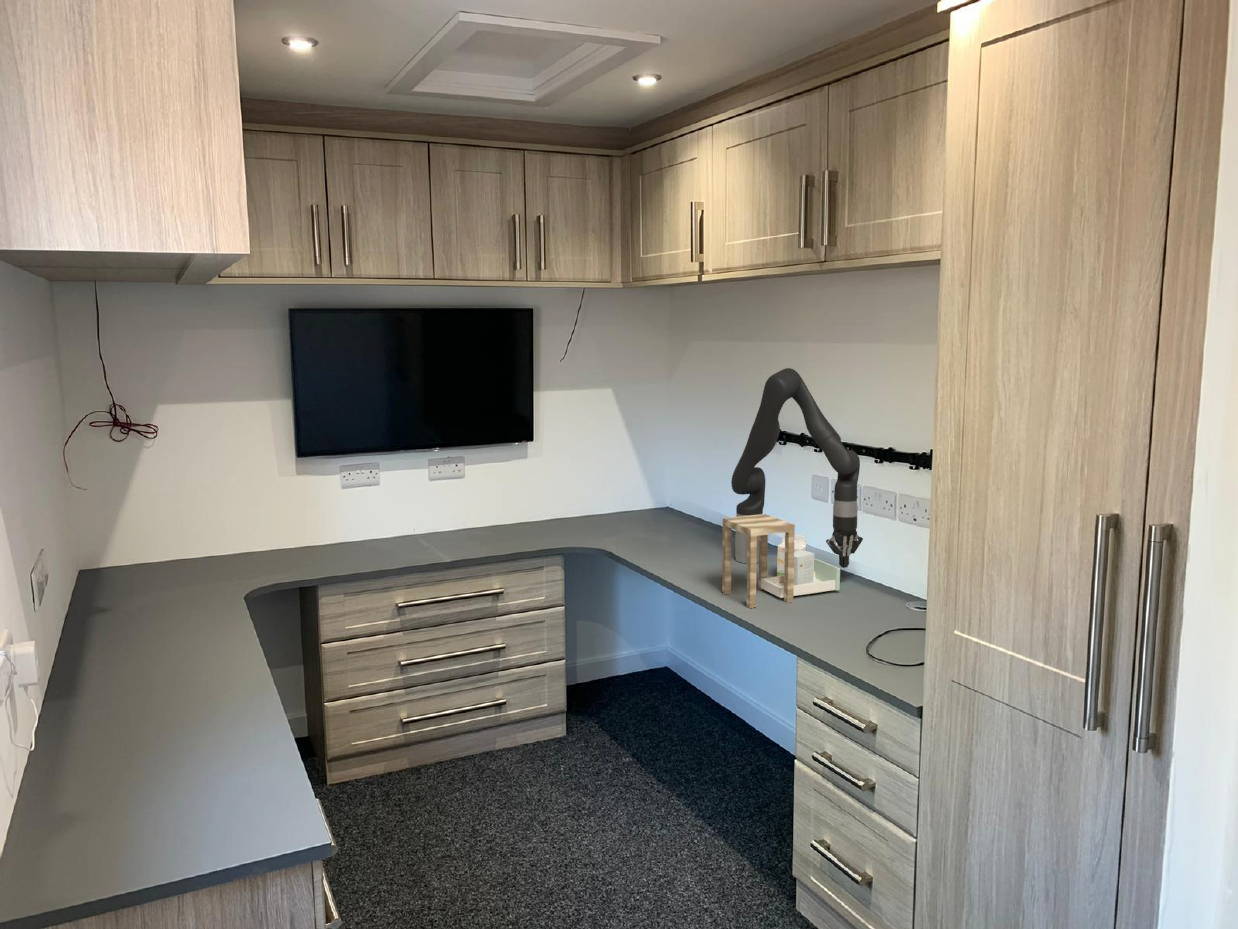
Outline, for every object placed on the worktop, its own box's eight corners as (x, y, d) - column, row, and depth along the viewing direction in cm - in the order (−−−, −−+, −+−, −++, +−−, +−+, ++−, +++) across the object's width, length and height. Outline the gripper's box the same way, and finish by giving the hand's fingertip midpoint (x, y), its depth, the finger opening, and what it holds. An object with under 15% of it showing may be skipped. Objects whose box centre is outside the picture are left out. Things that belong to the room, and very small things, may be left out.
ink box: (775, 580, 305) (776, 536, 302) (780, 576, 309) (781, 533, 307) (801, 583, 301) (802, 539, 298) (806, 579, 305) (807, 535, 303)
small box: (800, 581, 296) (800, 549, 294) (814, 585, 292) (814, 552, 290) (783, 586, 291) (783, 553, 289) (797, 590, 287) (797, 557, 285)
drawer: (759, 587, 294) (759, 565, 293) (815, 579, 302) (816, 558, 301) (781, 598, 282) (782, 576, 281) (839, 590, 290) (840, 568, 289)
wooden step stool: (722, 593, 291) (722, 518, 287) (763, 587, 297) (764, 513, 293) (750, 608, 276) (750, 529, 272) (793, 602, 281) (794, 524, 278)
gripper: (834, 517, 288) (833, 572, 291) (869, 514, 293) (868, 567, 296) (820, 513, 295) (819, 566, 298) (855, 509, 300) (854, 562, 303)
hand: (843, 567), depth 297 cm, fingers closed
